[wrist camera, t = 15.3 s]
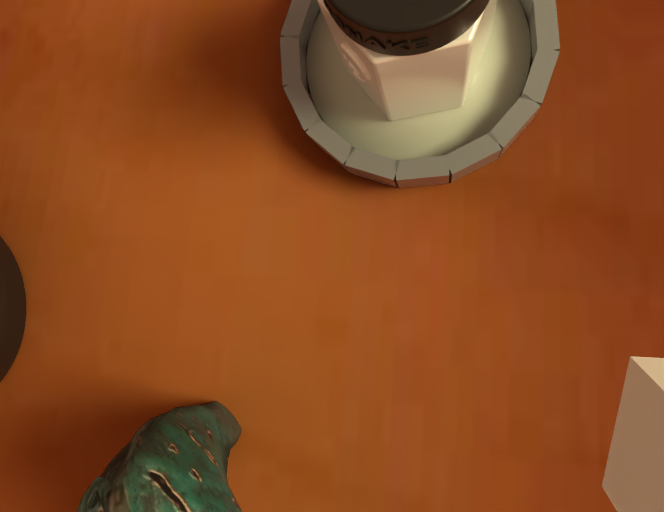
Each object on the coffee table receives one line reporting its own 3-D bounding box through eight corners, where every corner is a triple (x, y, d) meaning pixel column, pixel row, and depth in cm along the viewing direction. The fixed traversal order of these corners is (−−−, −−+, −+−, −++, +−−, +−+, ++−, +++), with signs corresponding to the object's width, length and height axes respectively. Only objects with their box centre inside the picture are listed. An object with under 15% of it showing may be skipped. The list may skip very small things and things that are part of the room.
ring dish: (259, 145, 38) (246, 135, 35) (337, -86, 37) (330, -114, 35) (499, 219, 34) (504, 213, 32) (585, -34, 34) (597, -60, 32)
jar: (322, 48, 36) (267, -67, 24) (421, -38, 35) (412, -201, 24) (410, 150, 35) (395, 80, 23) (515, 63, 34) (556, -57, 22)
